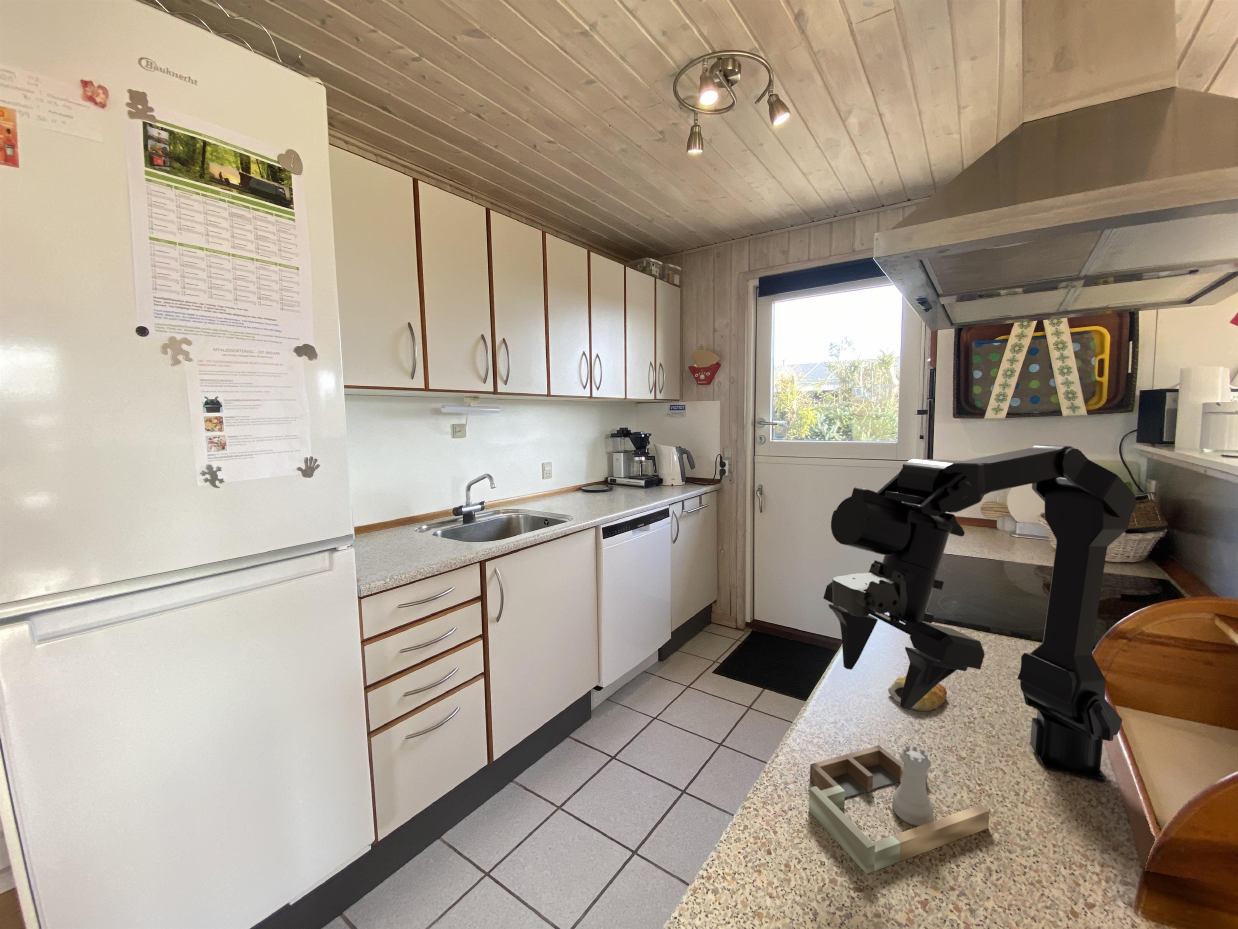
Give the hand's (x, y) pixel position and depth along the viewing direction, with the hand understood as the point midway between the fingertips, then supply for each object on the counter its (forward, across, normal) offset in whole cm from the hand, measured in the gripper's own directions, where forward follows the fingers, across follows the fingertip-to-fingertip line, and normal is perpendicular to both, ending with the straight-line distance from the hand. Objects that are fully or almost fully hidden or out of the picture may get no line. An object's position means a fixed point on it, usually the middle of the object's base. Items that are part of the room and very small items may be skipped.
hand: (874, 687), depth 60 cm
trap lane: (+14, 0, +6) cm, 16 cm away
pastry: (+8, -18, +29) cm, 35 cm away
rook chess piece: (+14, +2, +9) cm, 17 cm away
